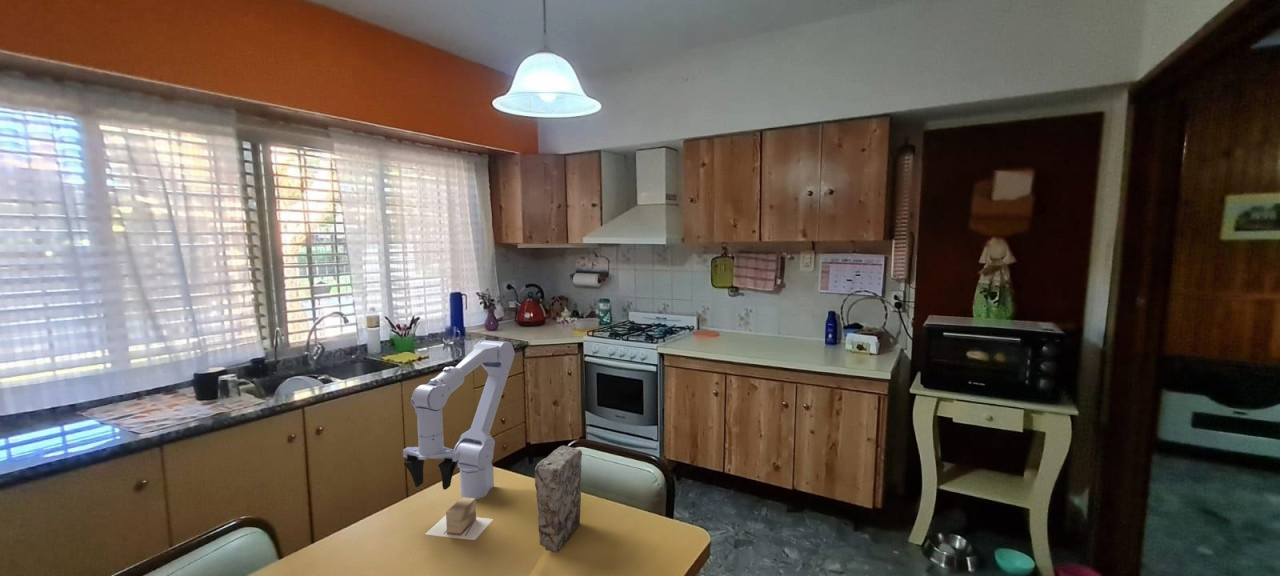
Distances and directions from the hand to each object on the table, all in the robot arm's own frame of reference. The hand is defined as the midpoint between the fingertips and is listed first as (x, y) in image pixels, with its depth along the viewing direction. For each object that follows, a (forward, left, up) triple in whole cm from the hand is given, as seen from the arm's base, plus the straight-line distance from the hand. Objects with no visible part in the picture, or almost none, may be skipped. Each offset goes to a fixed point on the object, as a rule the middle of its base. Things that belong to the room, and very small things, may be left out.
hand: (432, 486), depth 119 cm
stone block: (-1, +33, -10) cm, 35 cm away
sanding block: (+2, +9, -9) cm, 12 cm away
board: (+2, +8, -10) cm, 13 cm away
